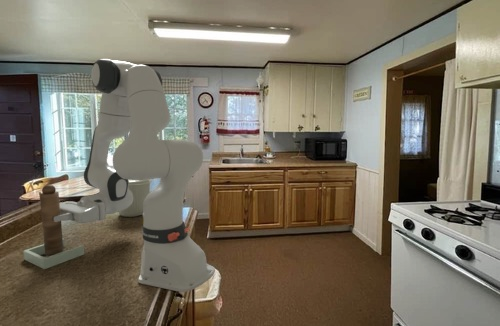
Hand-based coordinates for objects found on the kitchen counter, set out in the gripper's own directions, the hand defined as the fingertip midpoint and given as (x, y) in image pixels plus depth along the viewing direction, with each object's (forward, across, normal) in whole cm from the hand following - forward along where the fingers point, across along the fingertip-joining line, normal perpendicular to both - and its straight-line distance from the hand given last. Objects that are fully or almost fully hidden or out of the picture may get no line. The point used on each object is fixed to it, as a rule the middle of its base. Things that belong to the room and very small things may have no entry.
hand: (48, 217), depth 92 cm
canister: (-45, -18, +14) cm, 51 cm away
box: (-1, 0, +14) cm, 14 cm away
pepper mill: (-1, 0, +12) cm, 12 cm away
